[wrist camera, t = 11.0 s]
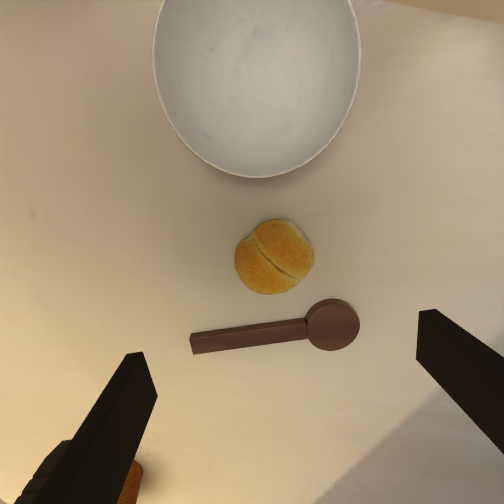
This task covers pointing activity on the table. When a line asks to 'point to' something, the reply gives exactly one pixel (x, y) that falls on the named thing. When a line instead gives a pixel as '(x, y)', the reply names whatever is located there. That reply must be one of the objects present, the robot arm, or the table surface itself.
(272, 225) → the bread roll
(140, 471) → the disposable coffee cup
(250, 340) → the wooden spoon
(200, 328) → the table surface
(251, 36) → the chinaware
